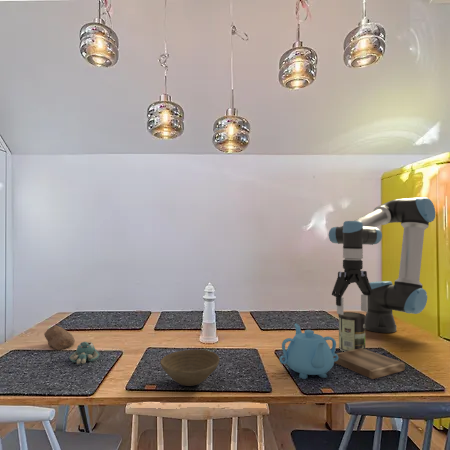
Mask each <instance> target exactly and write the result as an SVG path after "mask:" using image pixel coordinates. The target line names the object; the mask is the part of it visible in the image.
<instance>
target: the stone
mask: <svg viewBox="0 0 450 450" xmlns="http://www.w3.org/2000/svg"><path fill="white" fill-rule="evenodd" d="M43 335H44V338H45V339H46V341H47V344H48V346H49V347H52V348H53V349H54V350H56V351H60V350H64V349H66V348H67V349H69V348H70V347H72V346H73V345H74V344H75V343H76V340H75V338H74V336H73V335H72V333H70V332H69V331H68V330H67V329H64V328H63V327H62V326H58V325H54V326H52V327H50V328H48V329H47V330H46V331H45V332H44V334H43Z"/></svg>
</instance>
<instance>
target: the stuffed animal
mask: <svg viewBox="0 0 450 450" xmlns="http://www.w3.org/2000/svg"><path fill="white" fill-rule="evenodd" d="M99 357H100V352H99V351H97V349H96V348H95V346H94V343H93V342H92V341H82V342H81V343H79V344H78V345H77V348H76V350H75V351H74V352H73V353H70V355H69V356H68V358H69V360H70V361H71V362H72V363H76V365H79V364H86V361H88V362H95V361H96V360H97V359H98V358H99Z"/></svg>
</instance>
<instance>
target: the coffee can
mask: <svg viewBox="0 0 450 450" xmlns="http://www.w3.org/2000/svg"><path fill="white" fill-rule="evenodd" d="M337 315H338V350H339V349H340V350H339V351H340V352H343V351H344V352H345V351H350V350H355V349H359V348H362V349H366V329H365V315H366V314H365V313H364V314H363V313H360V312H353V311H343V315H341V314H337Z"/></svg>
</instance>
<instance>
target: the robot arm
mask: <svg viewBox="0 0 450 450" xmlns="http://www.w3.org/2000/svg"><path fill="white" fill-rule="evenodd" d="M435 219H436V209H435V205H434V204H433V201H432V200H431V199H429V197H425V196H424V197H423V196H416V197H409V198H407V197H406V198H396V199H392V200H389V201H387V202H385V203H383V204H381V205H378V206H376V207H374V209H373V210H372V211H371V212H369V213H366V214H364V215H362V216H360V217H357V218H355V220H345V221H344V222H343V223H342V224H343V225H341V226H335V227H331V228H330V229H329V231H328V240H329V241H330V242H331V243H332V244H338V245H339V244H341V245H342V258H343V260H342V269H343V270H344V271H338V272H337V278H336V281H335V284H334V286H333V289H332V291H331V295H332V296H333V297H335V305H336V314H337V315H338V314H341V315H343V312H344V297H343V296H344V294H345V292H346V290H347V289H348V287H349V285H351V284H354V283H355V284H356V286H357V287H358V289H359V290H360V292H361V293H362V294H360V311H361V312H366V314H364V315H365V331H366V330H367V331H370V332H375V333H380V334H381V333H382V334H384V333H386V334H390V333H395V332H397V328H398V327H397V323H396V321H395V318H394V315H393V311H396V312H401V313H406V314H414V315H417V314H421V312H423V310H424V309H425V308H426V306H427V301H428V295H427V294H428V293H427V291H426V289H424V288H423V284H422V283H421V281H420V277H421V266H422V258H423V247H424V246H423V245H424V239H425V238H424V237H425V230H426V229H428V228H429V226H430V224H429V223H432V222H433V221H434V220H435ZM393 223H400V225H401V226H402V228H403V235H402V244H401V252H400V262H399V270H398V278H397V279H395V280H394V283H393V282H392V281H391V280H384V281H371V282H370V281H369V278H368V271H366V270H363V268H364V267H363V260H362V259H364V257H363V256H364V255H363V253H364V250H363V249H364V248H363V247H364V245H368V246H369V245H370V246H371V245H372V246H373V245H377V244H379V243H380V242H381V241H382V239H383V234H382V231H381V230H380V228H378V227H379V226H386V225H388V224H393Z"/></svg>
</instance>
